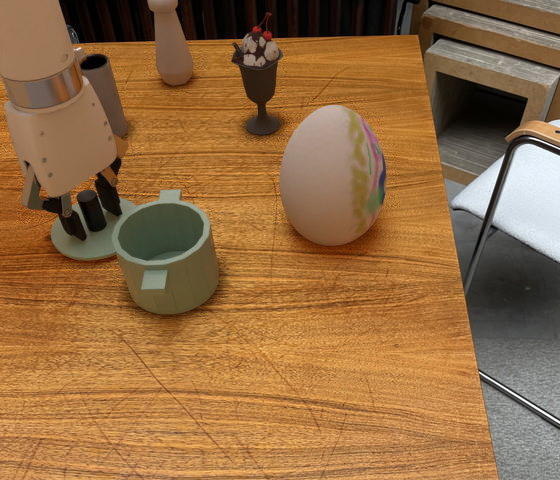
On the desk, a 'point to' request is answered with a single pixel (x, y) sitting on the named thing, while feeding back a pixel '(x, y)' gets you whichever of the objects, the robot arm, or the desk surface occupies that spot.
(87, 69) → the grey tube
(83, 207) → the lid
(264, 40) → the sundae
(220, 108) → the desk surface
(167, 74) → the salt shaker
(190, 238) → the pot
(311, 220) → the decorative egg
